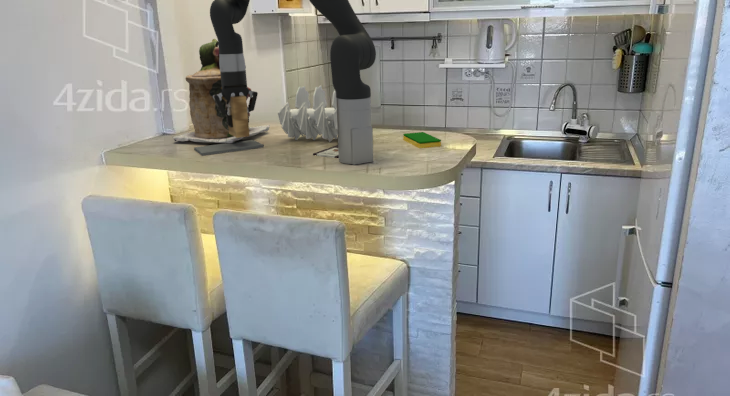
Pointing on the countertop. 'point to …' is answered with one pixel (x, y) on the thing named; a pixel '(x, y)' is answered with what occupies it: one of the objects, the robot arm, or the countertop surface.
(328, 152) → the chocolate bar
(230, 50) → the robot arm
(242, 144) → the rubber mat
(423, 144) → the dish sponge
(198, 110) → the cookie jar
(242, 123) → the tall wooden block
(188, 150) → the countertop surface
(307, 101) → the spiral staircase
